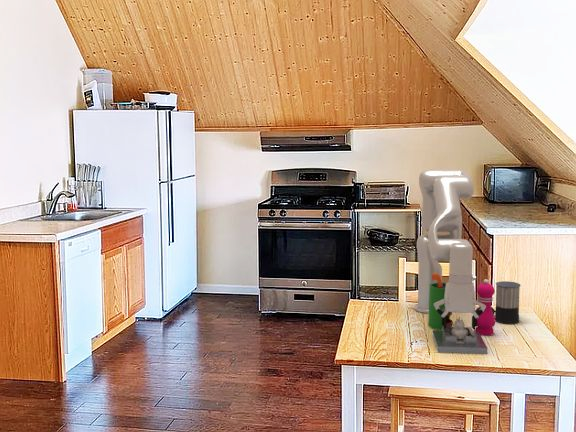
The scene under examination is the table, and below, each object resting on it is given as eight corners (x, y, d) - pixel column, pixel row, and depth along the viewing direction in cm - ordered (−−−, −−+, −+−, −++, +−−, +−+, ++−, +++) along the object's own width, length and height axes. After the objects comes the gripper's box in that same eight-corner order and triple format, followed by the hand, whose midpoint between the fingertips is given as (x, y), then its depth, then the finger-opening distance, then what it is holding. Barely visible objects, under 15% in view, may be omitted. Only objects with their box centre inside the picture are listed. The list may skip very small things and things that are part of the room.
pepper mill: (470, 333, 230) (472, 279, 227) (479, 328, 235) (481, 276, 233) (489, 337, 225) (491, 282, 222) (498, 332, 230) (500, 279, 228)
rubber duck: (449, 339, 216) (449, 317, 215) (454, 334, 222) (454, 312, 221) (465, 342, 213) (465, 319, 212) (469, 336, 219) (470, 314, 218)
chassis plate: (432, 335, 228) (432, 323, 227) (478, 337, 225) (478, 324, 225) (437, 352, 210) (437, 339, 209) (487, 354, 208) (487, 340, 207)
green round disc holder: (453, 330, 233) (454, 277, 231) (428, 329, 235) (429, 276, 232) (451, 323, 243) (453, 271, 240) (427, 321, 245) (429, 271, 242)
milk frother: (521, 325, 239) (522, 287, 238) (478, 323, 242) (479, 285, 240) (514, 315, 253) (516, 278, 252) (474, 313, 256) (475, 277, 254)
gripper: (484, 277, 217) (483, 325, 220) (433, 276, 220) (432, 324, 222) (488, 282, 210) (487, 332, 212) (435, 281, 212) (434, 330, 214)
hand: (459, 328), depth 217 cm, fingers open, 9 cm apart
